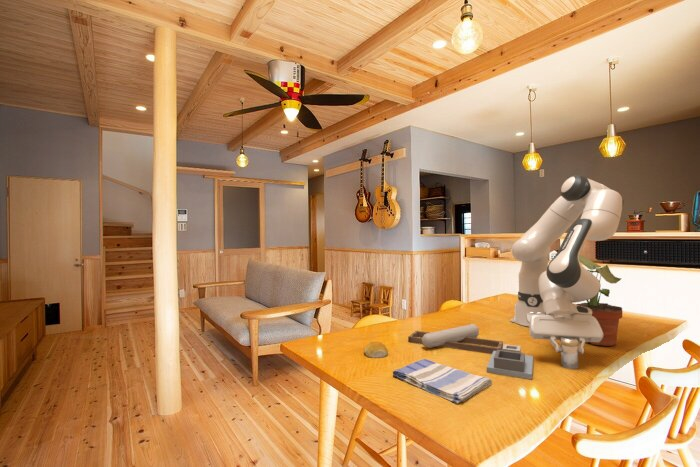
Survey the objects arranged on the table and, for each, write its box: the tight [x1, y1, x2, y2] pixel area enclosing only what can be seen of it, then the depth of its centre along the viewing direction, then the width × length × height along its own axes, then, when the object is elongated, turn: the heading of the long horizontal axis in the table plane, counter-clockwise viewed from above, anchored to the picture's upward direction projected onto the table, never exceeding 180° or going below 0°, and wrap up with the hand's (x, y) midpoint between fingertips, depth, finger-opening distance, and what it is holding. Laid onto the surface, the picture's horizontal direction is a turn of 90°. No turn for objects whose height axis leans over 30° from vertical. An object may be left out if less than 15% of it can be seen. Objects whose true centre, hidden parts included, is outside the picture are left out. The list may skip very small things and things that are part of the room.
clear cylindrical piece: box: [559, 337, 579, 370], centre depth 105 cm, size 5×5×8 cm
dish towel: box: [392, 358, 493, 404], centre depth 98 cm, size 17×24×3 cm
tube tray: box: [407, 330, 504, 355], centre depth 129 cm, size 9×33×2 cm, turn 60°
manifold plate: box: [486, 343, 534, 381], centre depth 107 cm, size 16×12×4 cm
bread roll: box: [363, 341, 389, 359], centre depth 121 cm, size 8×9×4 cm
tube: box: [421, 323, 480, 349], centre depth 129 cm, size 5×5×25 cm
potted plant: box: [575, 254, 623, 347], centre depth 125 cm, size 16×15×35 cm
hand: (570, 352), depth 105 cm, fingers closed on clear cylindrical piece, 4 cm apart
